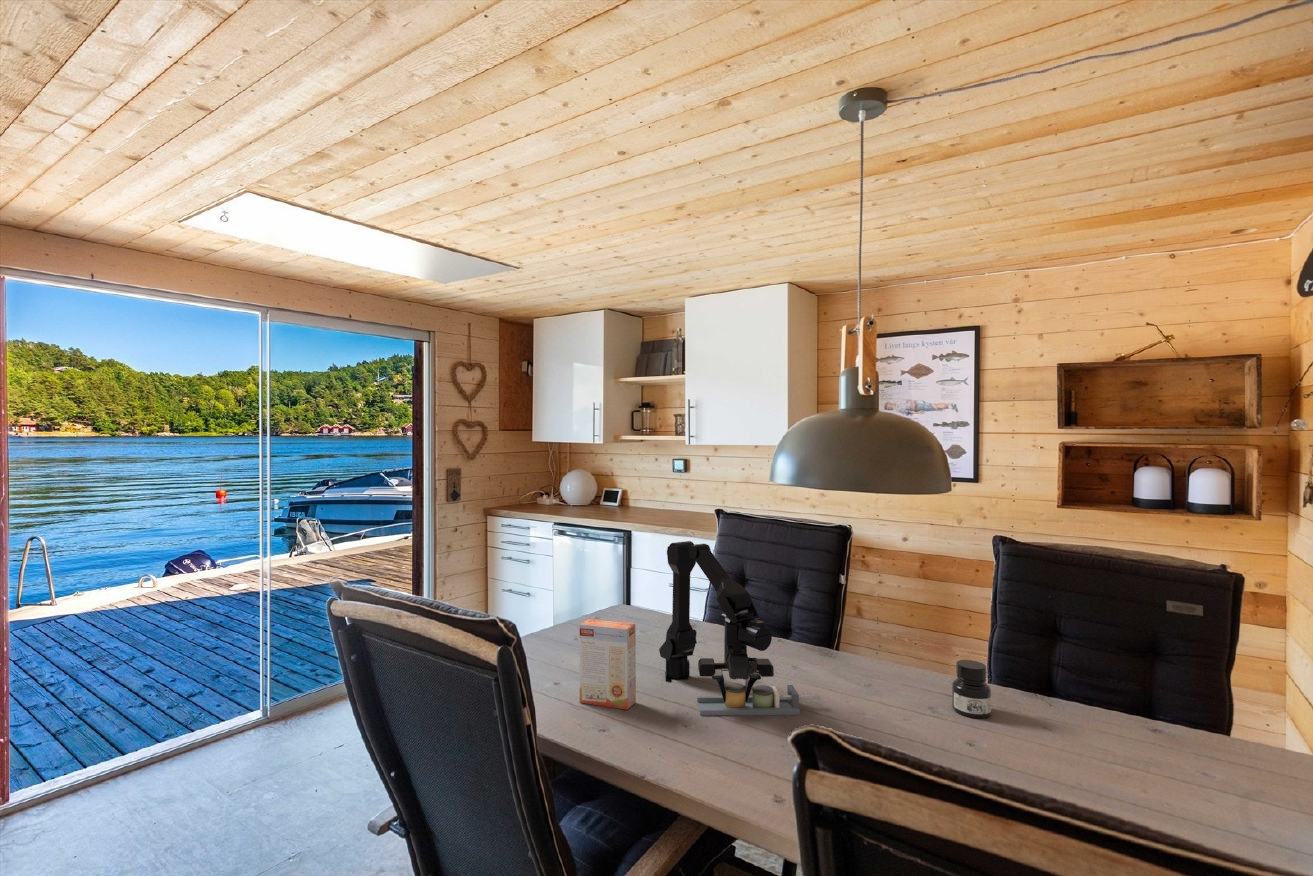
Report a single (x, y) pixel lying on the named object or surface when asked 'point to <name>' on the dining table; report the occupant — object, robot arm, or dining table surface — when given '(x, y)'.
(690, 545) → the robot arm
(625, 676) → the cracker box
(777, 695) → the pusher
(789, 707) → the lane
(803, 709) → the dining table surface
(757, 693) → the jar in lane
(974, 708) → the ink bottle
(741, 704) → the jar
